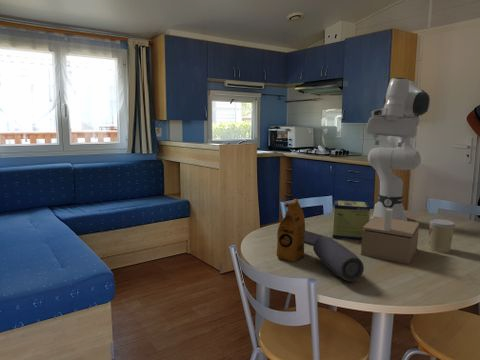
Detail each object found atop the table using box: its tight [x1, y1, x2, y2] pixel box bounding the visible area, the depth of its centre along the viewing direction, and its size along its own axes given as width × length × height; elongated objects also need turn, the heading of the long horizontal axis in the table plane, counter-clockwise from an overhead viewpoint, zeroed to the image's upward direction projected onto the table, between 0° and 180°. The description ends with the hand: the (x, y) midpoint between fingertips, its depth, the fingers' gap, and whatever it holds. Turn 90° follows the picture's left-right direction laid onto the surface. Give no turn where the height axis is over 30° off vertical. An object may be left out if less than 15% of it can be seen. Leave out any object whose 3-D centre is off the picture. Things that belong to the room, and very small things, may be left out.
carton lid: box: [363, 208, 420, 237], centre depth 155 cm, size 20×18×9 cm
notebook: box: [304, 230, 333, 247], centre depth 174 cm, size 13×2×21 cm
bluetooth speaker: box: [312, 235, 365, 282], centre depth 136 cm, size 23×9×10 cm, turn 12°
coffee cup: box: [428, 218, 456, 254], centre depth 160 cm, size 9×9×12 cm
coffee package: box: [276, 198, 306, 262], centre depth 149 cm, size 10×12×22 cm
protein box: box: [331, 200, 371, 241], centre depth 176 cm, size 10×16×16 cm
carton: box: [360, 225, 420, 265], centre depth 156 cm, size 20×18×10 cm
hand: (388, 145), depth 164 cm, fingers open, 8 cm apart
